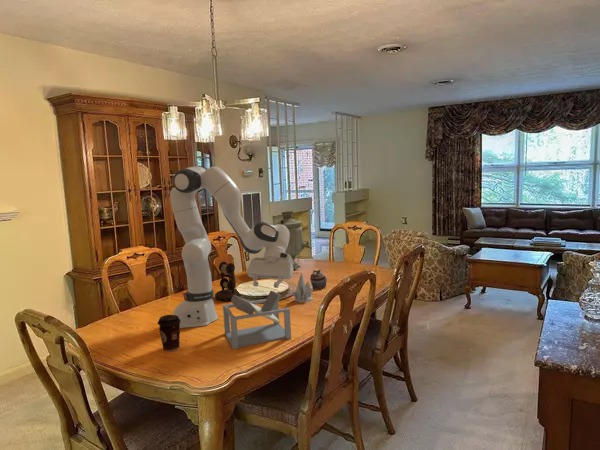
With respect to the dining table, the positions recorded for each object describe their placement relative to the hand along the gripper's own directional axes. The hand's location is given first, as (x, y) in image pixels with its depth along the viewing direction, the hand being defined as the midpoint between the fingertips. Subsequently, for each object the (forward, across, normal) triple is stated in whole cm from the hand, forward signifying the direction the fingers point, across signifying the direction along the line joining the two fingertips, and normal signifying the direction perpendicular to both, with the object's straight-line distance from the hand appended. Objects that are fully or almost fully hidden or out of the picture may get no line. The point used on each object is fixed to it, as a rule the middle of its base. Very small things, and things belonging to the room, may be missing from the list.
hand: (265, 286), depth 173 cm
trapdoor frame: (+17, -4, +13) cm, 21 cm away
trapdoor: (+10, -4, +5) cm, 12 cm away
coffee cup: (+31, -32, -1) cm, 45 cm away
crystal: (-19, -1, +49) cm, 53 cm away
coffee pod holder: (-14, -43, +44) cm, 63 cm away
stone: (+8, 0, +8) cm, 11 cm away
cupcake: (-36, 0, +66) cm, 75 cm away
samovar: (-63, -31, +93) cm, 116 cm away
